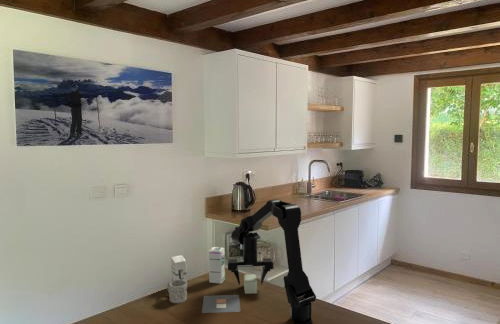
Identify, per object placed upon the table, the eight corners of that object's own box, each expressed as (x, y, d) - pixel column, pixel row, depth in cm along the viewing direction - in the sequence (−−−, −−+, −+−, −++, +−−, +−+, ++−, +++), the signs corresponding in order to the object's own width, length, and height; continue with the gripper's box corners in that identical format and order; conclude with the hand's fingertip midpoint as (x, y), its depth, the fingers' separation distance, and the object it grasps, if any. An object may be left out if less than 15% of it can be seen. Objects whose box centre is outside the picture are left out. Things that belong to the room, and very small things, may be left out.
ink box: (171, 282, 158) (170, 256, 157) (182, 281, 160) (182, 254, 160) (175, 290, 150) (175, 262, 150) (187, 288, 153) (187, 260, 152)
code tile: (238, 295, 146) (238, 294, 146) (240, 312, 132) (240, 311, 132) (203, 296, 145) (203, 295, 145) (201, 313, 131) (201, 312, 131)
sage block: (255, 285, 156) (255, 274, 155) (257, 293, 148) (257, 281, 147) (243, 286, 155) (243, 274, 155) (244, 294, 148) (244, 282, 147)
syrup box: (221, 284, 157) (221, 251, 156) (208, 282, 158) (208, 250, 157) (225, 278, 163) (225, 247, 162) (212, 277, 164) (212, 246, 163)
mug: (190, 299, 143) (190, 283, 142) (176, 305, 138) (175, 288, 137) (175, 292, 149) (175, 276, 149) (161, 297, 145) (161, 280, 144)
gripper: (270, 241, 159) (270, 276, 160) (227, 242, 158) (227, 277, 159) (273, 249, 148) (273, 286, 149) (227, 250, 147) (228, 288, 148)
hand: (250, 284), depth 151 cm, fingers open, 9 cm apart
